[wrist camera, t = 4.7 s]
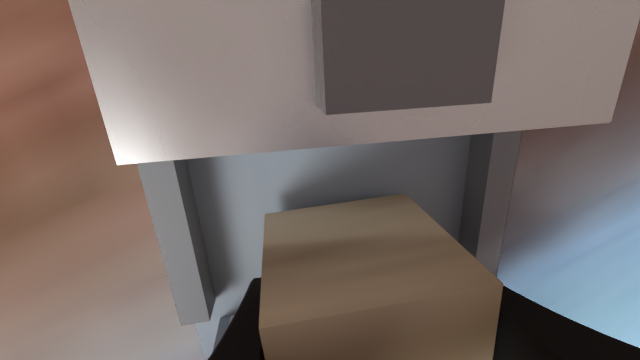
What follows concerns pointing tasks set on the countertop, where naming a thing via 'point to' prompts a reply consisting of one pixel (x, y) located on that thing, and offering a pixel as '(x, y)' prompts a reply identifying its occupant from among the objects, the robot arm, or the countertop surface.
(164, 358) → the countertop surface
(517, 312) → the robot arm
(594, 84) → the sliding jaw
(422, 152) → the base
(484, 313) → the block
